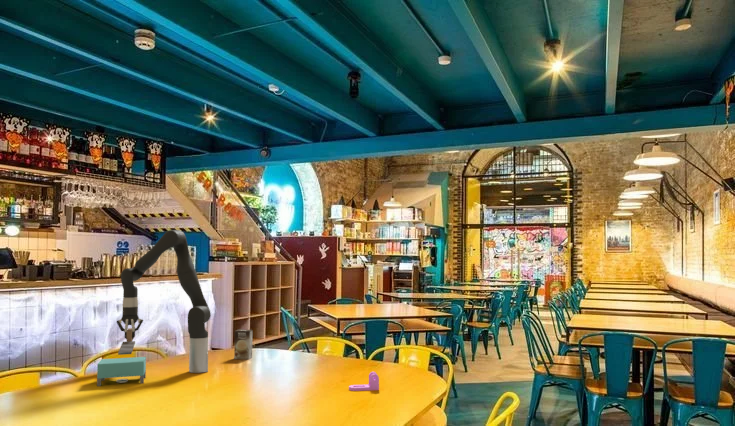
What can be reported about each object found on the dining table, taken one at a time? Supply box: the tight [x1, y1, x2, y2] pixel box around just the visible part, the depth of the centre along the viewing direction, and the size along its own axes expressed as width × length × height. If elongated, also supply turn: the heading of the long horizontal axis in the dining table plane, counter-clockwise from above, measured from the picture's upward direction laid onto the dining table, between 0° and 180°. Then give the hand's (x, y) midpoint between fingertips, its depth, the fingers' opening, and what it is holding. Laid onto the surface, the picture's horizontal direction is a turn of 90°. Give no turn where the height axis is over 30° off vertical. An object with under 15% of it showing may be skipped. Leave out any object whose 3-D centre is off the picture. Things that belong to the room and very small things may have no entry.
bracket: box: [348, 371, 380, 392], centre depth 264 cm, size 13×6×7 cm, turn 97°
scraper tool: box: [117, 327, 136, 356], centre depth 304 cm, size 28×6×6 cm, turn 16°
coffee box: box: [233, 328, 253, 360], centre depth 341 cm, size 9×6×16 cm
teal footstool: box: [96, 356, 147, 387], centre depth 282 cm, size 20×13×10 cm, turn 106°
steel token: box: [115, 378, 129, 384], centre depth 282 cm, size 5×5×1 cm
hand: (129, 338), depth 314 cm, fingers closed on scraper tool, 2 cm apart
